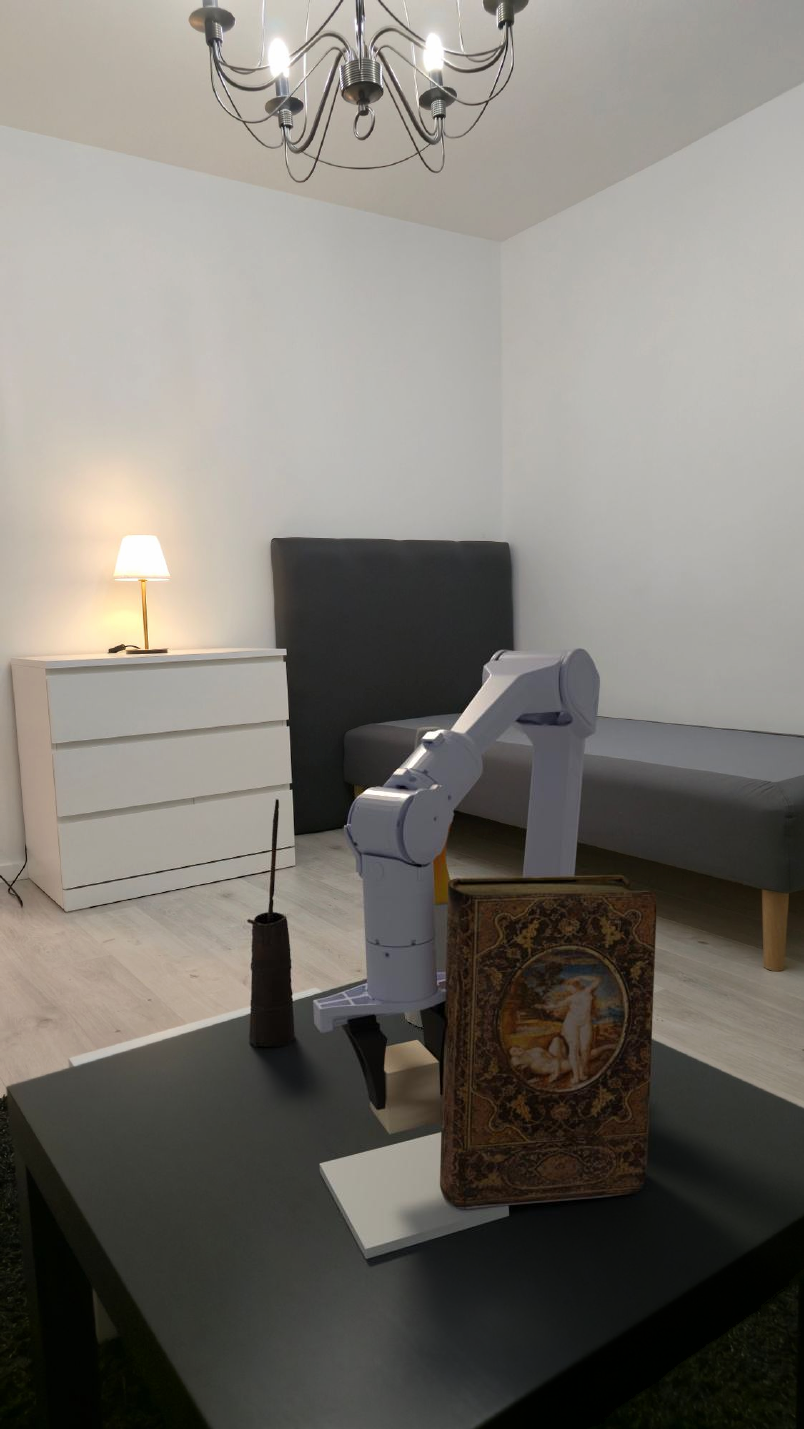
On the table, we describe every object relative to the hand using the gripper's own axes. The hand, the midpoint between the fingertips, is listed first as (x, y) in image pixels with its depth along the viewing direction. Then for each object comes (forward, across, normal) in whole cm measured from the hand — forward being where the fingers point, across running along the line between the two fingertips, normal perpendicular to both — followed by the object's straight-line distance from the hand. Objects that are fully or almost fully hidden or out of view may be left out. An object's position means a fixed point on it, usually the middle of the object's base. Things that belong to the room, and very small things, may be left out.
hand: (406, 1096), depth 74 cm
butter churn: (+8, +4, -33) cm, 34 cm away
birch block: (+2, 0, 0) cm, 2 cm away
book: (+8, -10, +4) cm, 13 cm away
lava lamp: (+8, -16, -31) cm, 36 cm away
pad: (+8, 0, 0) cm, 8 cm away
